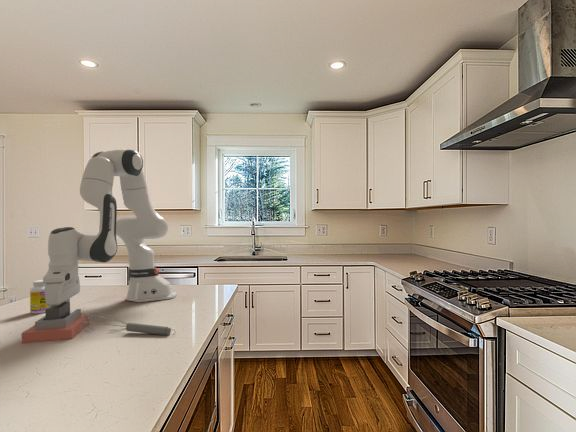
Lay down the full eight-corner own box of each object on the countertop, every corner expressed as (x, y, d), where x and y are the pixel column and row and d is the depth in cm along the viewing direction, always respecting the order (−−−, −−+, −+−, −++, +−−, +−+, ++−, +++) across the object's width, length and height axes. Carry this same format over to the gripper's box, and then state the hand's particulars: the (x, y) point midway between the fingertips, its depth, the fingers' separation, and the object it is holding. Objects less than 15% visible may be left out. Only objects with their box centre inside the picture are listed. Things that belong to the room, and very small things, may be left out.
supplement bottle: (39, 314, 138) (39, 282, 138) (26, 313, 139) (25, 282, 139) (54, 310, 145) (53, 279, 144) (41, 309, 146) (40, 279, 146)
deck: (88, 323, 125) (88, 308, 125) (72, 338, 110) (71, 321, 110) (45, 326, 122) (45, 311, 122) (21, 342, 107) (21, 325, 106)
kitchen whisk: (170, 339, 109) (170, 319, 109) (76, 335, 114) (76, 316, 114) (180, 332, 115) (179, 313, 115) (89, 329, 120) (89, 311, 120)
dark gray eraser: (70, 318, 121) (69, 301, 121) (59, 326, 112) (59, 308, 112) (57, 319, 120) (57, 302, 120) (45, 327, 112) (45, 309, 112)
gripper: (66, 269, 132) (67, 304, 132) (40, 279, 112) (41, 321, 112) (84, 268, 133) (85, 303, 133) (61, 278, 113) (63, 319, 113)
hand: (65, 312), depth 122 cm, fingers closed
